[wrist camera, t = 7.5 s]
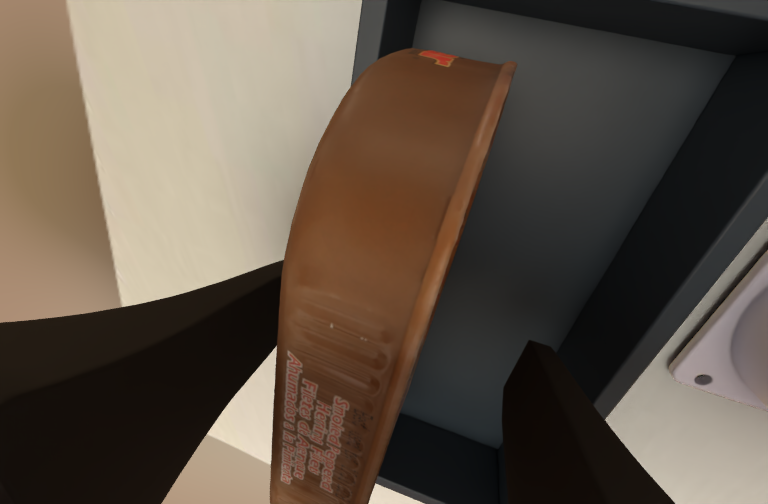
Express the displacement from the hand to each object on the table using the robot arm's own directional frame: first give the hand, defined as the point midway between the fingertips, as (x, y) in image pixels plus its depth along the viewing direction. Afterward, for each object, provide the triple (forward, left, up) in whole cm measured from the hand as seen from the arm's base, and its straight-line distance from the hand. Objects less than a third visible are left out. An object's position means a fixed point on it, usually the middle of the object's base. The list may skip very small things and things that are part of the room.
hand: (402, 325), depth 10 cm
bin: (-2, 0, -4) cm, 5 cm away
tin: (+1, 0, -4) cm, 4 cm away
